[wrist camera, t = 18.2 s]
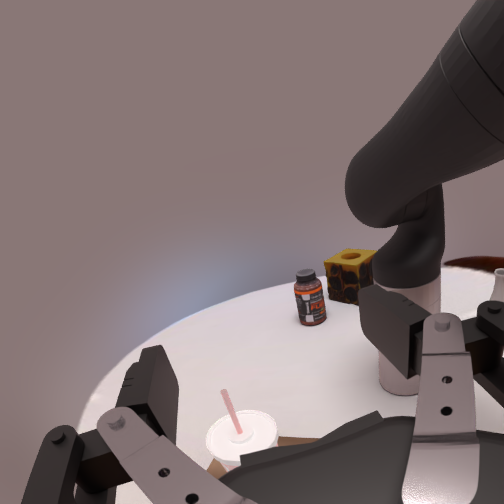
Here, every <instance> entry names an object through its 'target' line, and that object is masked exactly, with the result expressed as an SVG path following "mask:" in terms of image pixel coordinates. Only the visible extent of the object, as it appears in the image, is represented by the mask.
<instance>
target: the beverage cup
mask: <svg viewBox="0 0 504 504" xmlns="http://www.w3.org/2000/svg"><path fill="white" fill-rule="evenodd" d="M221 394H222V397H223V399H224V402H225V404H226V407H227V409H228V412H229V414H228V415H226V416H224V417H222V418H220V419H219V420H217V421H216V422H215V423H214V424H213V425H212V426H211V427H210V429H209V431H208V433H207V435H206V446H207V448H208V450H209V451H210V453H211V454H212V455H213V457H214V458H215V459H216V460H217V461H219V462H220V463H221V464H222V466H223V467H224V468H225V470H226V471H227V472H228V471H230V470H232V469H234V468H236V467H238V466H240V465H241V462H240V456H239V455H243V454H248V453H252V452H256V451H260V450H264V449H268V448H271V447H277V446H278V443H277V440H278V436H279V434H278V430H277V427H276V424H275V420H274V419H272V418H271V417H270V416H269V415H268V414H267V413H263V412H260V411H257V410H241V411H237V412H235V411H234V408H233V406H232V403H231V400H230V398H229V395H228V392H227V390H226V389H223V390H221Z"/></svg>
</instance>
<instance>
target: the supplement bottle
mask: <svg viewBox="0 0 504 504" xmlns="http://www.w3.org/2000/svg"><path fill="white" fill-rule="evenodd" d="M296 277H297V278H296V279H297V282H296V283H295V284H294V292H295V297H296V302H297V308H298V313H299V318H300V321H301V323H303V324H305V325H316V324H319V323H321V322H323V321H324V320H325V318H326V310H325V307H326V306H325V303H324V296H323V290H322V284H321V281H320V280H319V279H318V278H316V275H315V271H314V270H313V269H304V270H301V271H299V272H297V273H296Z"/></svg>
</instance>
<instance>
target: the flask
mask: <svg viewBox="0 0 504 504" xmlns="http://www.w3.org/2000/svg"><path fill="white" fill-rule="evenodd" d="M494 274H495V285H494V289H493V293H492V295H491V298H490V300H496V301H501V302H504V269H502V268H501V269H496V270H495V272H494ZM490 300H489V301H490Z"/></svg>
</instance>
